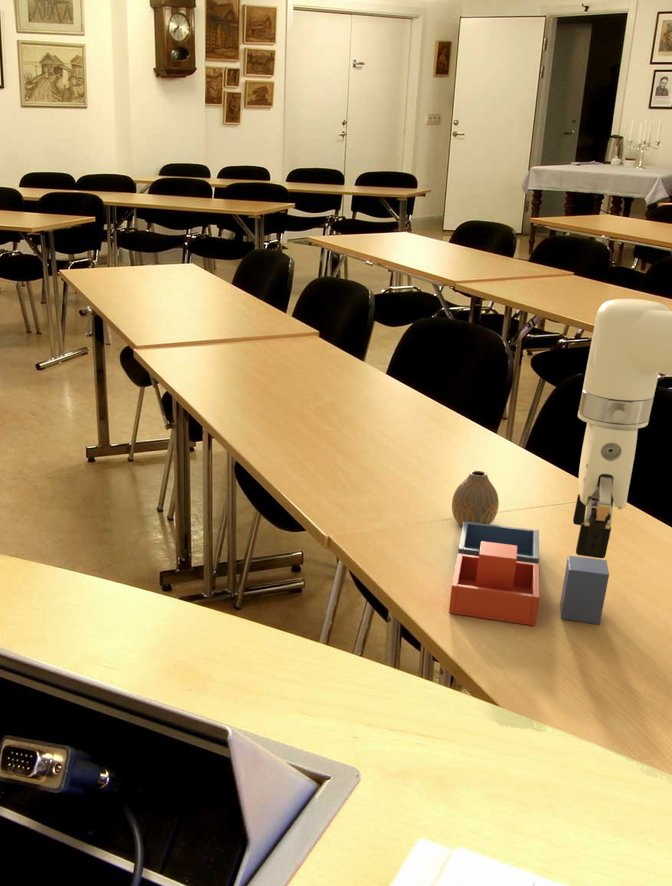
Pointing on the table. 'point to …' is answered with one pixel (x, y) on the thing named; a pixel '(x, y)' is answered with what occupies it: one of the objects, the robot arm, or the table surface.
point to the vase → (475, 500)
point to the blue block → (584, 589)
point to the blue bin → (500, 540)
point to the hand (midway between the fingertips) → (587, 539)
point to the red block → (496, 566)
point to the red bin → (495, 593)
